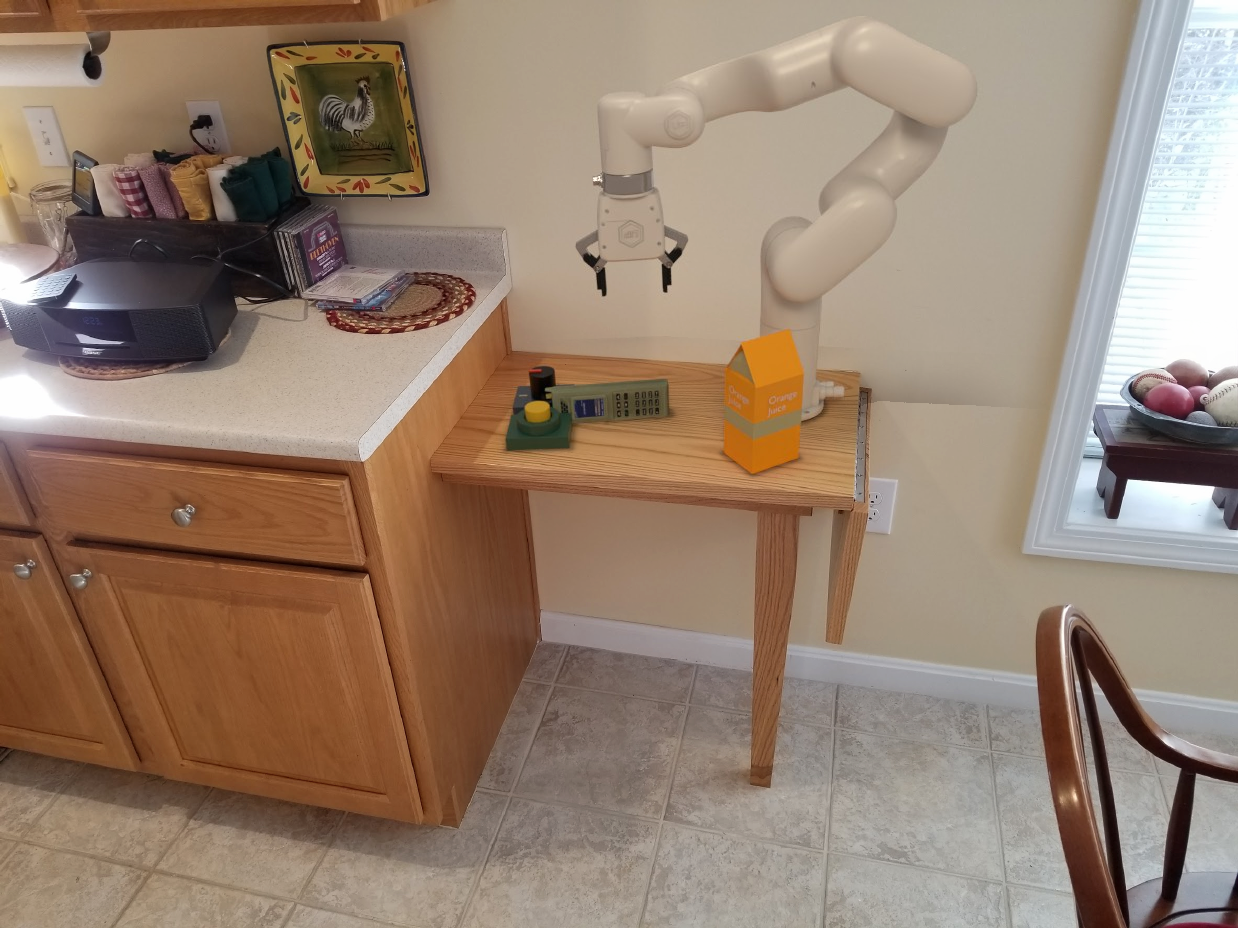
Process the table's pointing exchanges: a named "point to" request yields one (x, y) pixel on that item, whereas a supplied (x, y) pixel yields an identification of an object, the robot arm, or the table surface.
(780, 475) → the table surface
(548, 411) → the yellow push button
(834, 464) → the table surface
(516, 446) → the green button base
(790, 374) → the orange juice
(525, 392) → the nozzle panel
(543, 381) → the knob
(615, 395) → the handheld radio
